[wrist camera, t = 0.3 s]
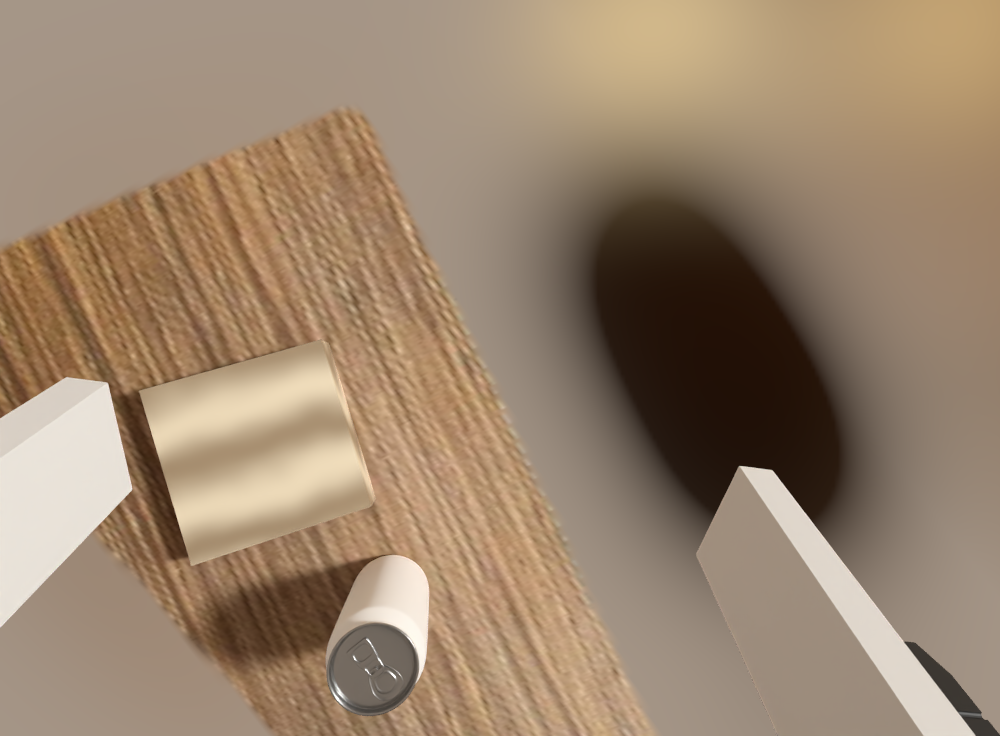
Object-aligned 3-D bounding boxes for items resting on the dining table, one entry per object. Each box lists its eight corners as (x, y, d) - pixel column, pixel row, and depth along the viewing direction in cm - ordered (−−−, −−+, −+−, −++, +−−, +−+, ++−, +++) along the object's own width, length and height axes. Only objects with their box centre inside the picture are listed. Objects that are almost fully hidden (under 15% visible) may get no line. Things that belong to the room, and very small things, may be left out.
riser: (375, 498, 43) (371, 506, 40) (209, 553, 41) (191, 566, 38) (328, 343, 43) (320, 339, 40) (160, 390, 41) (138, 390, 38)
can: (382, 645, 42) (361, 746, 30) (337, 585, 42) (297, 663, 30) (444, 596, 43) (446, 675, 31) (399, 537, 43) (385, 594, 31)
